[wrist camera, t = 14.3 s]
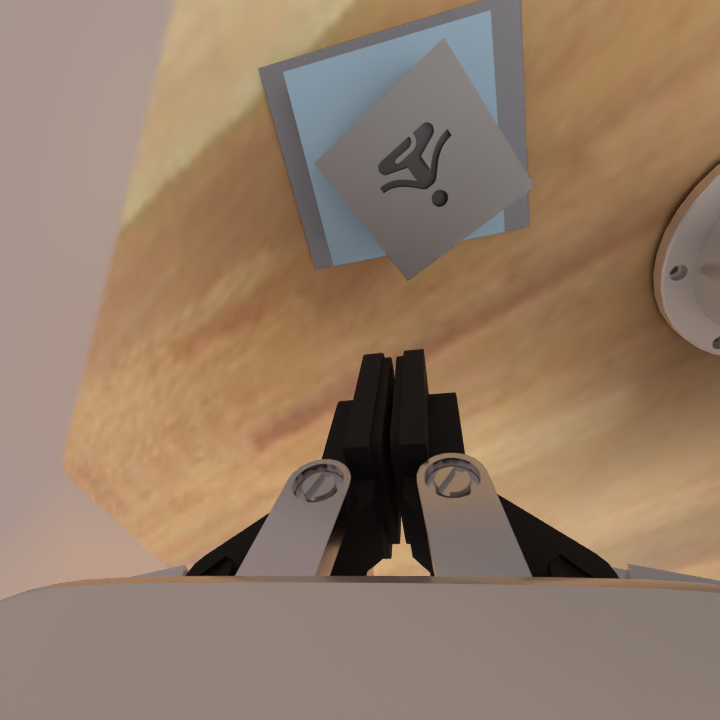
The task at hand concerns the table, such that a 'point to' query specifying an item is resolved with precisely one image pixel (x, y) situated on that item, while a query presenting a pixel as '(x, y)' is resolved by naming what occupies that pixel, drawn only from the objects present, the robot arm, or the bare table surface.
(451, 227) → the dice cube
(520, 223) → the base
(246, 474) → the table surface
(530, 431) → the table surface
